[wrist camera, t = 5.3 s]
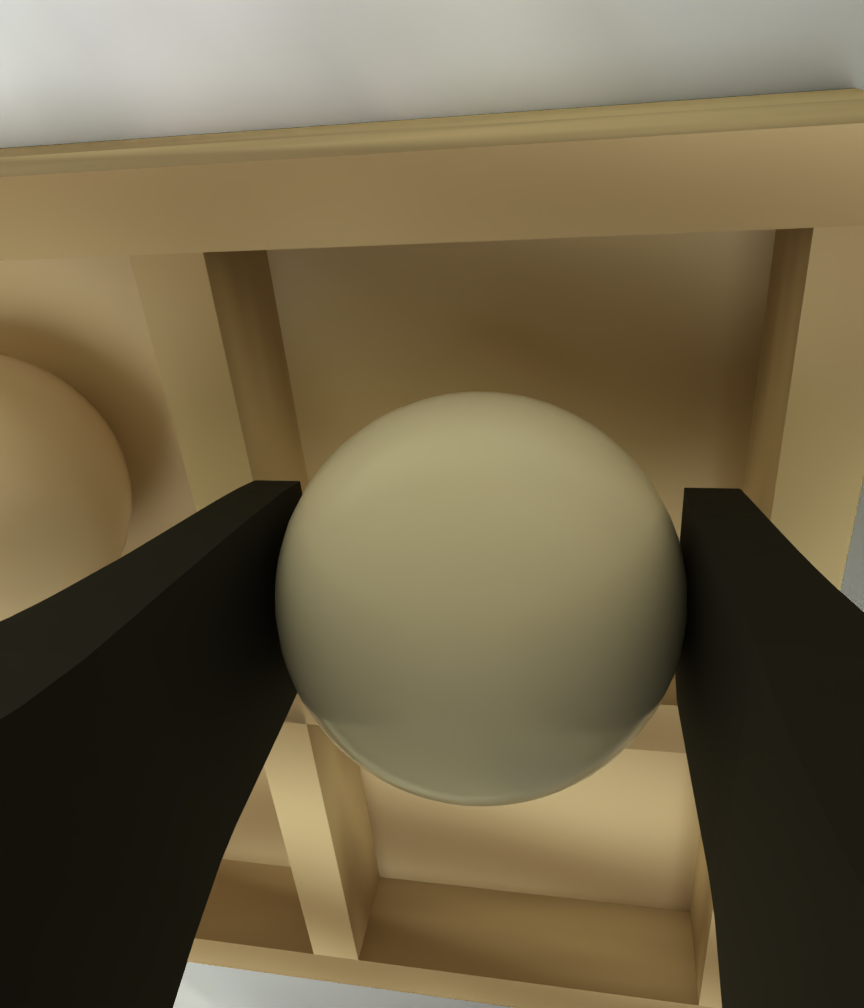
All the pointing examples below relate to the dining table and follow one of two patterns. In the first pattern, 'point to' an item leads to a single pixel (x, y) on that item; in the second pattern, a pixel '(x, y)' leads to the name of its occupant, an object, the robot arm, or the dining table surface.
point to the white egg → (481, 598)
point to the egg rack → (453, 369)
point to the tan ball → (55, 487)
